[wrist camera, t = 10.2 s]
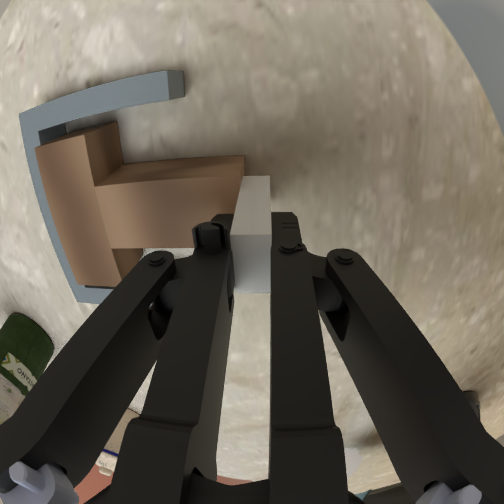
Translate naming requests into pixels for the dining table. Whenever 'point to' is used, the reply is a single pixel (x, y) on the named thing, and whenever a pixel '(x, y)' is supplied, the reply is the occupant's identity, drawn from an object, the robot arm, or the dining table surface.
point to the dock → (78, 106)
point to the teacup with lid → (114, 445)
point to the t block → (128, 200)
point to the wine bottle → (20, 361)
